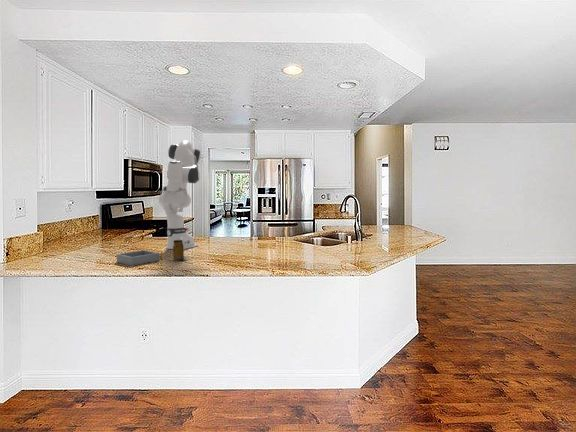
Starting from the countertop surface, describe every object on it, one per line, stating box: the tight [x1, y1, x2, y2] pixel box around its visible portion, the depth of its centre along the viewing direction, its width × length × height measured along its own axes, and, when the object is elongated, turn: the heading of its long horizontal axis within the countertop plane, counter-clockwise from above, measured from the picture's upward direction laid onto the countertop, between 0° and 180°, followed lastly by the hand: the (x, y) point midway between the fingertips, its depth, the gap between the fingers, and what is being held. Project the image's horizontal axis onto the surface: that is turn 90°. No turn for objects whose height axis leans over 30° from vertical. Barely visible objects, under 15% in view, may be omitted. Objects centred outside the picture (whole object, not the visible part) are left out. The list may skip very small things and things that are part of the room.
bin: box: [116, 249, 160, 267], centre depth 254 cm, size 18×17×5 cm
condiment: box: [172, 240, 189, 262], centre depth 257 cm, size 7×8×12 cm
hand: (175, 211), depth 256 cm, fingers open, 8 cm apart
